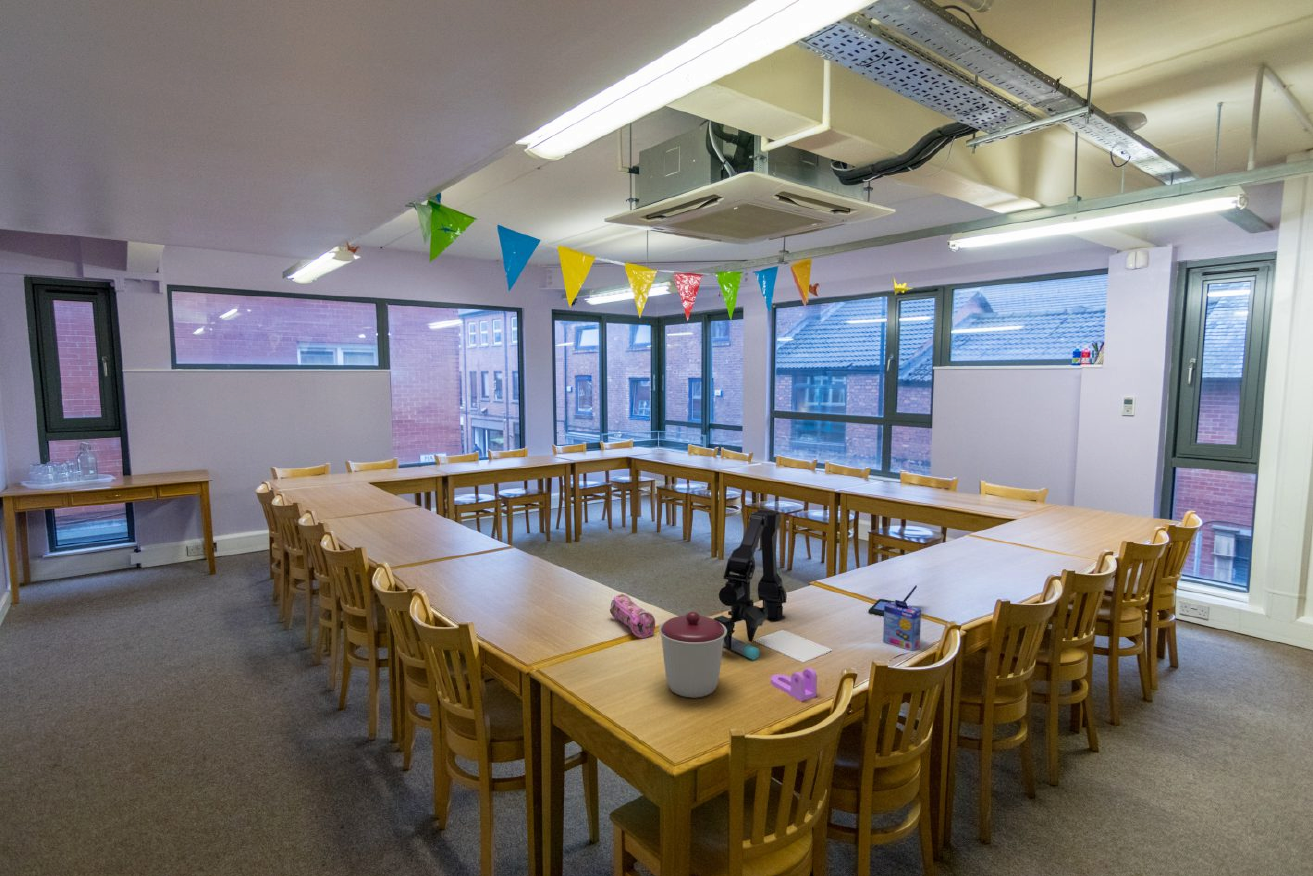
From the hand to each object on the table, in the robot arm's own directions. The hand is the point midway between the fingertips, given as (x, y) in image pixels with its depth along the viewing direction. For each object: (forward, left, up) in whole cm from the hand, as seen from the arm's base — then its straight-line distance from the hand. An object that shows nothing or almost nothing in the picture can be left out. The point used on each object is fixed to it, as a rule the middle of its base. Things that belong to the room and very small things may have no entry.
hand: (739, 645), depth 195 cm
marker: (0, 0, -1) cm, 1 cm away
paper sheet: (+8, +15, -1) cm, 17 cm away
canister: (+10, -28, -2) cm, 30 cm away
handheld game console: (+10, +67, -2) cm, 68 cm away
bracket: (+26, -7, -2) cm, 27 cm away
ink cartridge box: (+28, +43, -2) cm, 51 cm away
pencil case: (-34, -16, -2) cm, 38 cm away
